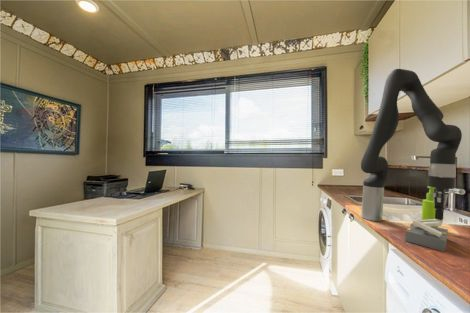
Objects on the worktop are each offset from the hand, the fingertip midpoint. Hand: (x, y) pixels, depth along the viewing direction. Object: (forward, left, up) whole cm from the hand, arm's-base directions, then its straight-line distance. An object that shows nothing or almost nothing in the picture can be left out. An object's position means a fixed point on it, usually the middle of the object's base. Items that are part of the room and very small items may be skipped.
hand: (438, 219), depth 81 cm
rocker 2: (+3, -6, -4) cm, 8 cm away
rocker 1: (-2, -2, -4) cm, 5 cm away
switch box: (-2, -2, -9) cm, 10 cm away
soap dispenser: (-19, +10, -10) cm, 23 cm away
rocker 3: (-7, +1, -4) cm, 8 cm away
